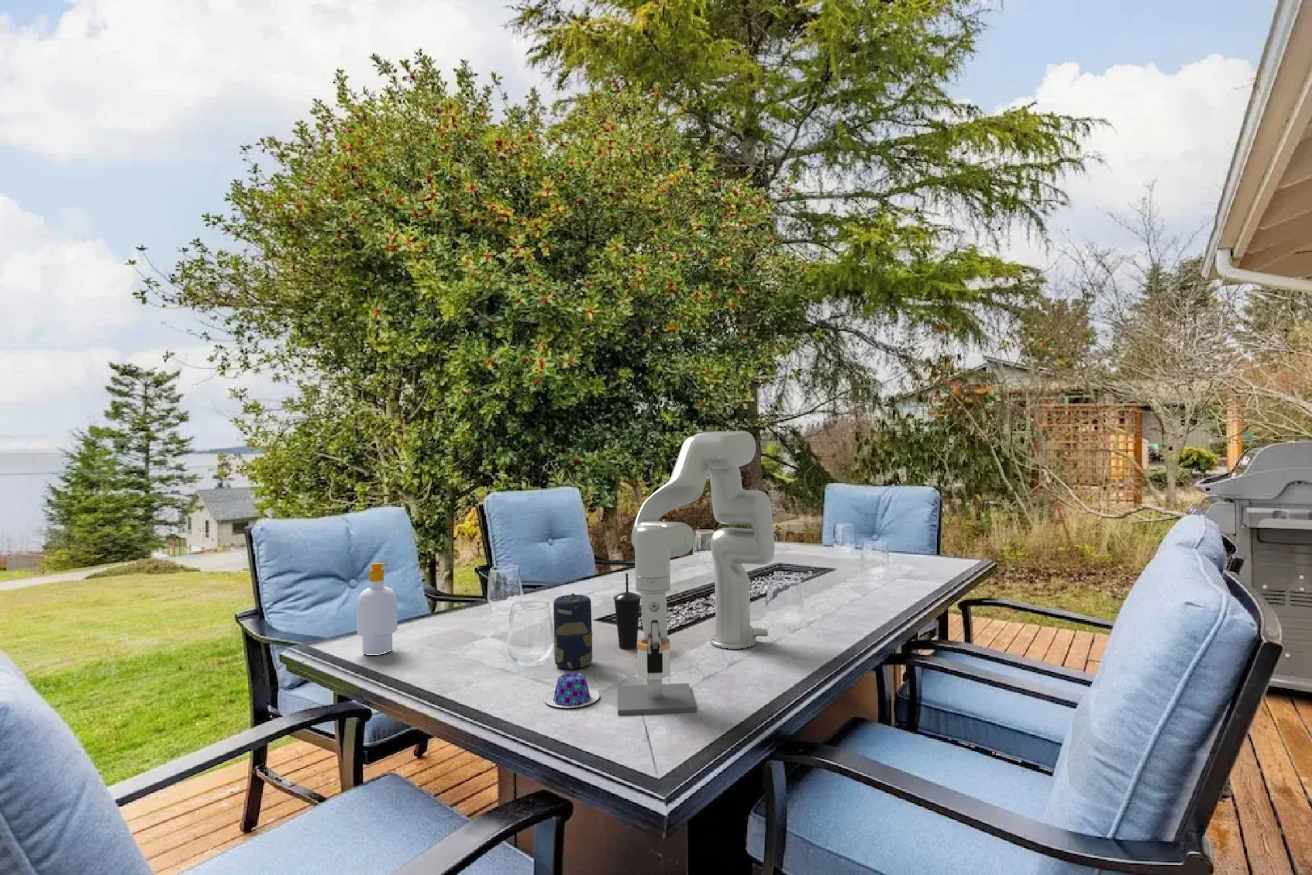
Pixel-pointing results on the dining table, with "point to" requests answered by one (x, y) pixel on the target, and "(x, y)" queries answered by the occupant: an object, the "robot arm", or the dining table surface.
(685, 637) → the dining table surface
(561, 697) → the pudding
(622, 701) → the base
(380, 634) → the soap bottle
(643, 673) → the vent collar
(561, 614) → the canister
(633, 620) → the drinking cup
